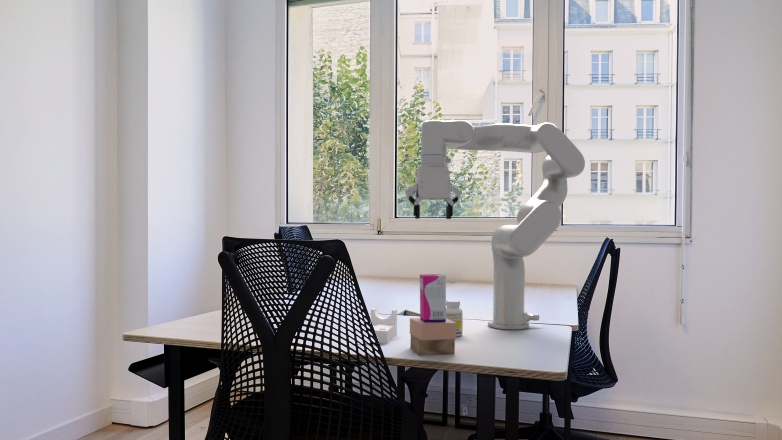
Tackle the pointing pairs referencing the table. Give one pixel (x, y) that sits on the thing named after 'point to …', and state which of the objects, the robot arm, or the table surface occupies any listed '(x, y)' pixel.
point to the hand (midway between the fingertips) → (433, 218)
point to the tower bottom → (433, 346)
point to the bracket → (384, 325)
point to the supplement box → (433, 298)
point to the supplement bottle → (455, 315)
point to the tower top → (432, 329)
